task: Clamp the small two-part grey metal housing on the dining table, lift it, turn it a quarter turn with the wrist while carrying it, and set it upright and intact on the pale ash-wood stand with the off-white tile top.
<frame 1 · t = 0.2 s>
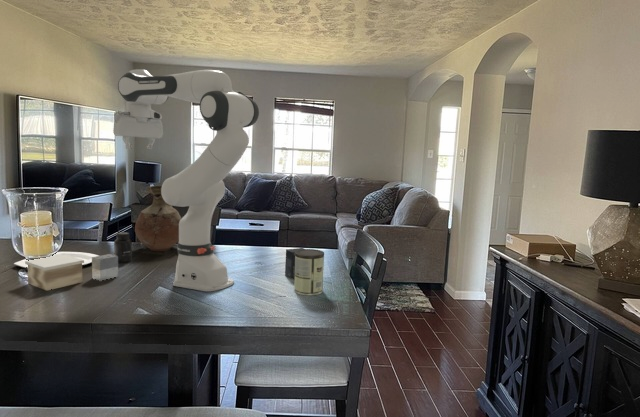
hand: (139, 149, 171), 47 cm above the table, tool pointing down, fingers open, 8 cm apart
box: (296, 276, 173), on the table
jug: (159, 249, 208), on the table
supplement bottle: (123, 261, 184), on the table
housing: (105, 277, 160), on the table
plate: (60, 265, 177), on the table
stand: (55, 282, 152), on the table
coffee can: (308, 291, 154), on the table
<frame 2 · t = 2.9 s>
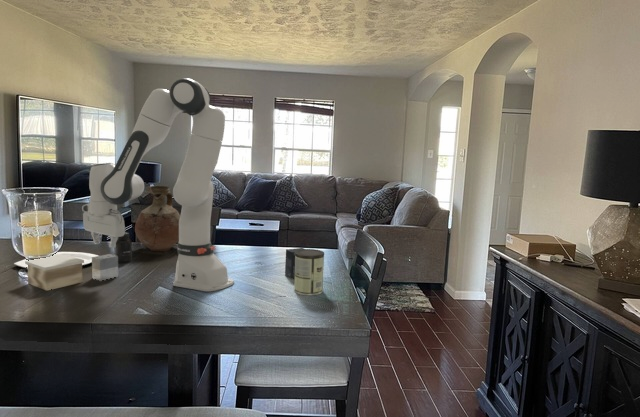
hand: (104, 245, 159), 12 cm above the table, tool pointing down, fingers open, 8 cm apart
nothing on the table moved.
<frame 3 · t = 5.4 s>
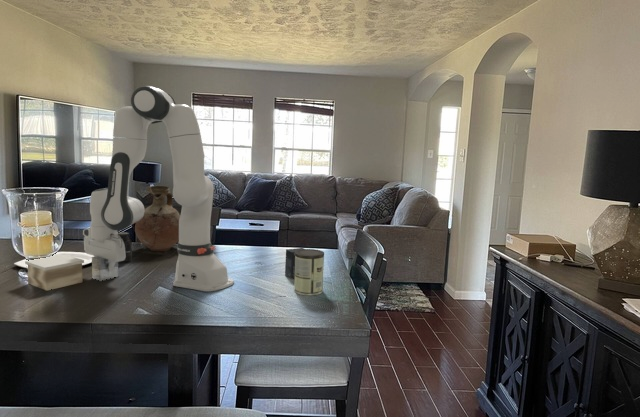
hand: (105, 269, 160), 3 cm above the table, tool pointing down, fingers closed on housing, 5 cm apart
housing: (105, 277, 160), on the table, touching gripper
everything else where it was.
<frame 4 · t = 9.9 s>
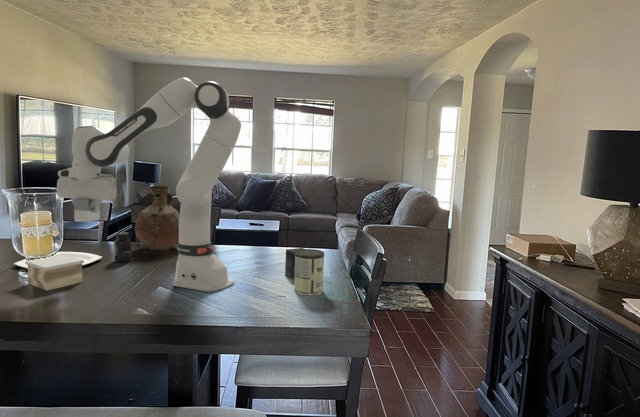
hand: (87, 211, 155), 25 cm above the table, tool pointing down, fingers closed on housing, 5 cm apart
housing: (87, 220, 155), point 22 cm above the table, touching gripper
everything else where it was.
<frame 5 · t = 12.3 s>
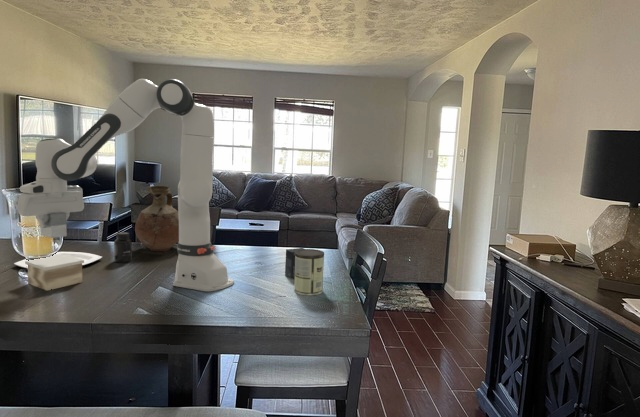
hand: (53, 226, 150), 20 cm above the table, tool pointing down, fingers closed on housing, 5 cm apart
housing: (53, 235, 150), point 17 cm above the table, touching gripper
everything else where it was.
when the fingers open (13 cm above the table, at t = 14.3 s): housing drops 1 cm, resting on stand.
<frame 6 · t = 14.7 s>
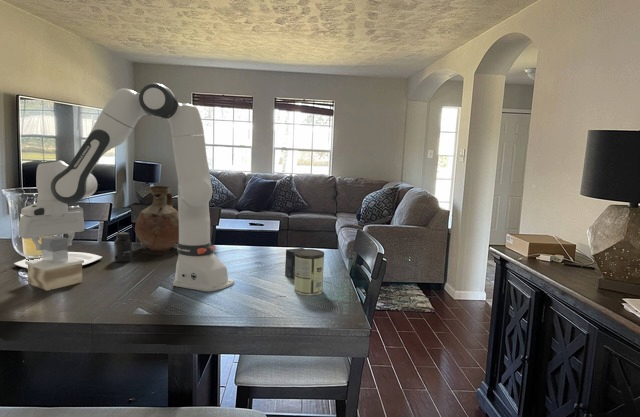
hand: (54, 247, 151), 13 cm above the table, tool pointing down, fingers open, 8 cm apart
housing: (55, 260, 151), point 8 cm above the table, touching stand
everything else where it was.
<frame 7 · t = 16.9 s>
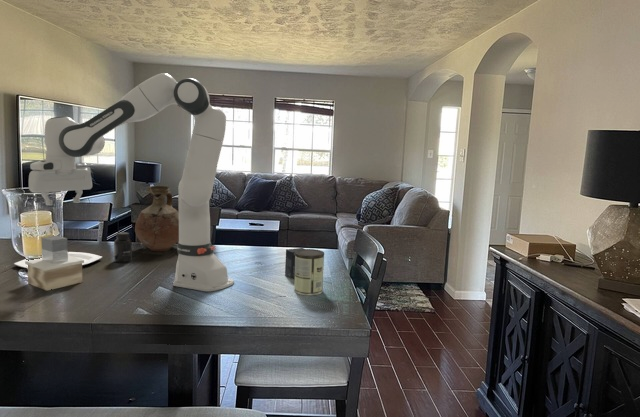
hand: (63, 203, 153), 27 cm above the table, tool pointing down, fingers open, 8 cm apart
nothing on the table moved.
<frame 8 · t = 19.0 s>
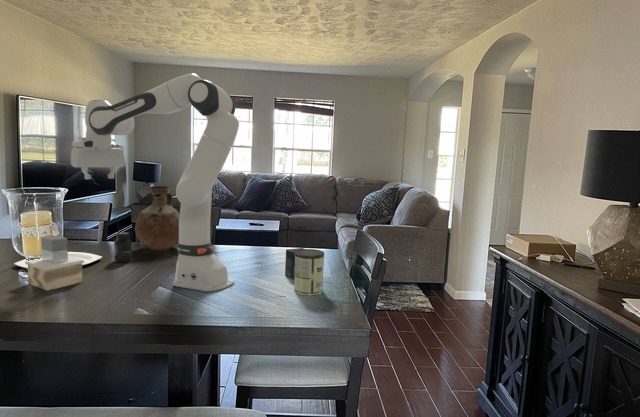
hand: (99, 178, 170), 35 cm above the table, tool pointing down, fingers open, 8 cm apart
nothing on the table moved.
at the end: housing inside the target area on the stand (0.1 cm from its centre), point 8.0 cm above the stand's base; housing tilted 0°; the gripper is holding nothing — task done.
